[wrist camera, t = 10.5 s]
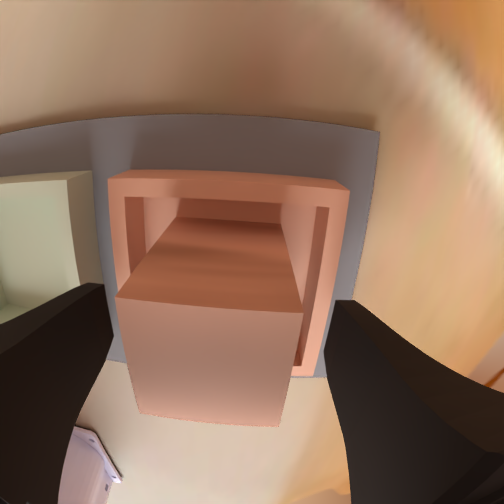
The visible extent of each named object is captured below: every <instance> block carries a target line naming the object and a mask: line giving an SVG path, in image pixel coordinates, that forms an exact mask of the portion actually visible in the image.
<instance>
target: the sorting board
mask: <svg viewBox="0 0 504 504" xmlns="http://www.w3.org/2000/svg"><path fill="white" fill-rule="evenodd" d="M379 136H380V132H378V131H373V130H367V129H361V128H356V127H349V126H343V125H336V124H329V123H322V122H314V121H306V120H296V119H286V118H275V117H262V116H246V115H223V114H161V115H138V116H122V117H110V118H99V119H89V120H81V121H73V122H65V123H58V124H52V125H46V126H40V127H34V128H29V129H23V130H18V131H13V132H9V133H4V134H0V324H2V323H4V322H7V321H9V320H11V319H13V318H15V317H17V316H19V315H21V314H23V313H25V312H28V311H30V310H32V309H34V308H36V307H38V306H40V305H42V304H44V303H45V302H47V301H49V300H51V299H53V298H55V297H57V296H59V295H61V294H63V293H65V292H67V291H69V290H71V289H73V288H75V287H77V286H80V285H82V284H85V283H88V282H90V283H99V284H104V285H105V291H106V297H107V303H108V308H109V313H110V318H111V323H112V328H113V333H114V338H113V341H112V344H111V347H110V350H109V352H108V355H107V358H106V360H111V361H116V362H122V363H127V361H126V356H125V352H124V347H123V342H122V337H121V332H120V327H119V321H118V315H117V309H116V303H115V296H116V294H117V293H118V292H119V290H120V289H121V287H122V286H123V285H124V283H125V282H126V281H127V279H128V278H129V277H130V275H131V274H132V272H133V271H134V270H135V268H136V267H137V266H138V264H139V263H140V262H141V261H142V259H143V258H144V257H145V255H146V254H147V253H148V251H149V250H150V249H151V247H152V246H153V245H154V244H155V242H156V241H157V240H158V239H159V237H160V236H161V235H162V233H163V232H164V231H165V230H166V228H167V227H168V226H169V225H170V223H171V222H172V221H173V220H174V218H175V217H190V218H206V219H221V220H236V221H250V222H263V223H276V224H281V226H282V230H283V234H284V238H285V241H286V245H287V249H288V253H289V257H290V260H291V264H292V268H293V272H294V276H295V280H296V284H297V288H298V292H299V296H300V300H301V304H302V308H303V312H304V315H303V320H302V325H301V330H300V335H299V340H298V345H297V350H296V354H295V359H294V364H293V368H292V373H291V377H292V378H313V377H327V374H326V368H325V360H324V353H323V351H324V347H325V343H326V339H327V334H328V330H329V326H330V322H331V318H332V313H333V309H334V304H335V300H351V299H352V295H353V290H354V286H355V282H356V277H357V273H358V268H359V263H360V259H361V254H362V249H363V244H364V238H365V233H366V228H367V222H368V216H369V210H370V204H371V198H372V191H373V185H374V178H375V170H376V162H377V154H378V145H379Z"/></svg>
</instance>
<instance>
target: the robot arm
mask: <svg viewBox="0 0 504 504" xmlns="http://www.w3.org/2000/svg"><path fill="white" fill-rule="evenodd" d="M113 338H114V333H113V328H112V323H111V318H110V313H109V308H108V303H107V297H106V291H105V285H104V284H99V283H90V282H88V283H85V284H82V285H80V286H77V287H75V288H73V289H71V290H69V291H67V292H65V293H63V294H61V295H59V296H57V297H55V298H53V299H51V300H49V301H47V302H45V303H44V304H42V305H40V306H38V307H36V308H34V309H32V310H30V311H28V312H25V313H23V314H21V315H19V316H17V317H15V318H13V319H11V320H9V321H7V322H4V323H2V324H0V504H106V503H107V499H108V496H109V492H110V489H111V486H112V482H116V483H122V478H121V477H120V475H119V474H118V472H117V470H116V469H115V467H114V465H113V464H112V462H111V460H110V459H109V457H108V455H107V454H106V452H105V450H104V448H103V446H102V445H101V443H100V441H99V439H98V437H97V435H96V434H95V433H94V432H92V431H90V430H86V429H83V428H79V427H76V426H75V422H76V420H77V418H78V415H79V413H80V410H81V408H82V406H83V404H84V402H85V400H86V398H87V396H88V394H89V392H90V390H91V388H92V386H93V384H94V382H95V380H96V378H97V376H98V374H99V372H100V371H101V369H102V367H103V365H104V363H105V361H106V358H107V355H108V352H109V350H110V347H111V344H112V341H113ZM323 353H324V360H325V368H326V374H327V380H328V383H329V387H330V390H331V394H332V398H333V401H334V405H335V408H336V412H337V415H338V419H339V422H340V426H341V430H342V433H343V438H344V442H345V447H346V454H347V462H348V470H349V480H350V491H351V504H504V393H502V392H499V391H496V390H494V389H491V388H489V387H486V386H484V385H481V384H479V383H477V382H475V381H473V380H471V379H469V378H467V377H464V376H462V375H460V374H459V373H457V372H455V371H453V370H451V369H449V368H448V367H446V366H444V365H443V364H441V363H439V362H437V361H436V360H434V359H433V358H431V357H429V356H428V355H426V354H425V353H423V352H422V351H421V350H419V349H418V348H416V347H415V346H414V345H412V344H411V343H409V342H408V341H407V340H405V339H404V338H403V337H401V336H400V335H399V334H397V333H396V332H395V331H394V330H392V329H391V328H390V327H389V326H387V325H386V324H385V323H384V322H382V321H381V320H380V319H379V318H377V317H376V316H375V315H374V314H372V313H371V312H370V311H369V310H367V309H366V308H365V307H363V306H362V305H361V304H359V303H358V302H356V301H355V300H335V304H334V309H333V313H332V318H331V322H330V326H329V330H328V334H327V339H326V343H325V347H324V351H323Z"/></svg>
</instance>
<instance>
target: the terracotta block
mask: <svg viewBox="0 0 504 504" xmlns="http://www.w3.org/2000/svg"><path fill="white" fill-rule="evenodd" d="M115 303H116V309H117V315H118V321H119V327H120V332H121V337H122V342H123V347H124V352H125V356H126V361H127V365H128V370H129V374H130V378H131V382H132V386H133V390H134V394H135V398H136V401H137V405H138V409H139V412H140V413H142V414H148V415H154V416H160V417H166V418H173V419H180V420H187V421H196V422H205V423H215V424H227V425H242V426H265V427H279V423H280V419H281V415H282V411H283V407H284V403H285V399H286V395H287V390H288V386H289V382H290V377H291V373H292V368H293V364H294V359H295V354H296V350H297V345H298V340H299V335H300V330H301V325H302V320H303V315H304V312H303V308H302V304H301V300H300V296H299V292H298V288H297V284H296V280H295V276H294V272H293V268H292V264H291V260H290V257H289V253H288V249H287V245H286V241H285V238H284V234H283V230H282V226H281V224H276V223H263V222H250V221H236V220H221V219H206V218H190V217H175V218H174V220H173V221H172V222H171V223H170V225H169V226H168V227H167V228H166V230H165V231H164V232H163V233H162V235H161V236H160V237H159V239H158V240H157V241H156V242H155V244H154V245H153V246H152V247H151V249H150V250H149V251H148V253H147V254H146V255H145V257H144V258H143V259H142V261H141V262H140V263H139V264H138V266H137V267H136V268H135V270H134V271H133V272H132V274H131V275H130V277H129V278H128V279H127V281H126V282H125V283H124V285H123V286H122V287H121V289H120V290H119V292H118V293H117V294H116V296H115Z"/></svg>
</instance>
